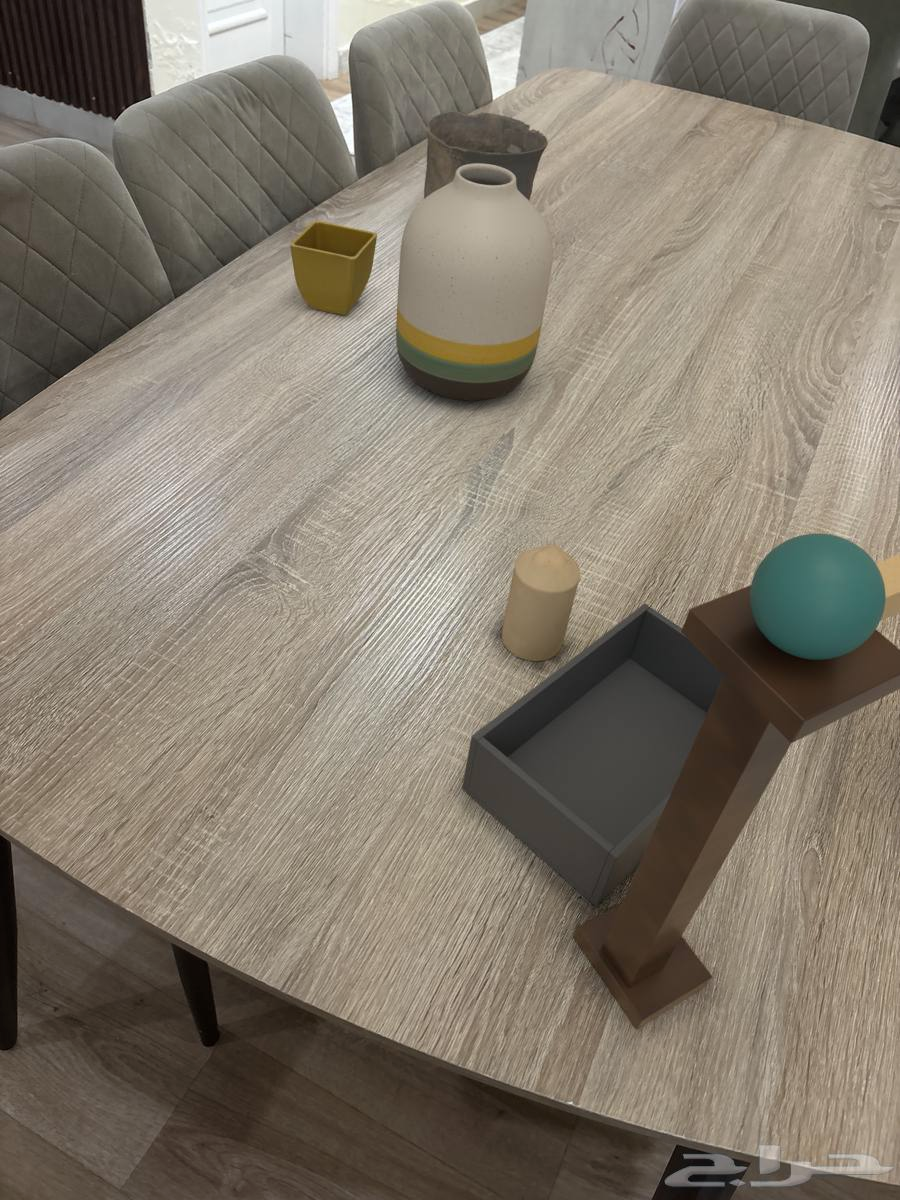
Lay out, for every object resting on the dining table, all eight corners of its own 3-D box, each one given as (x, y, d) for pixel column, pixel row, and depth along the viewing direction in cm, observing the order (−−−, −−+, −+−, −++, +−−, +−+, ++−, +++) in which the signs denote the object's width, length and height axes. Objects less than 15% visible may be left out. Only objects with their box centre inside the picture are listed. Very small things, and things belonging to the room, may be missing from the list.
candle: (515, 609, 86) (532, 525, 79) (571, 631, 85) (593, 548, 78) (491, 647, 83) (506, 562, 76) (549, 671, 81) (570, 587, 74)
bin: (754, 746, 77) (781, 694, 73) (596, 907, 66) (616, 858, 61) (627, 655, 83) (644, 602, 79) (461, 788, 72) (471, 735, 67)
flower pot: (315, 283, 129) (314, 218, 122) (375, 297, 127) (378, 232, 121) (290, 311, 122) (288, 244, 116) (353, 326, 121) (355, 258, 115)
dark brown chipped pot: (541, 223, 151) (557, 123, 141) (522, 268, 138) (538, 162, 128) (434, 203, 153) (442, 103, 142) (405, 245, 140) (412, 139, 130)
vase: (365, 364, 115) (372, 160, 98) (467, 328, 123) (490, 136, 107) (456, 431, 106) (481, 219, 90) (559, 387, 115) (599, 188, 98)
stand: (706, 986, 62) (919, 664, 40) (624, 1037, 59) (804, 721, 37) (641, 899, 66) (801, 564, 44) (560, 943, 63) (689, 608, 41)
